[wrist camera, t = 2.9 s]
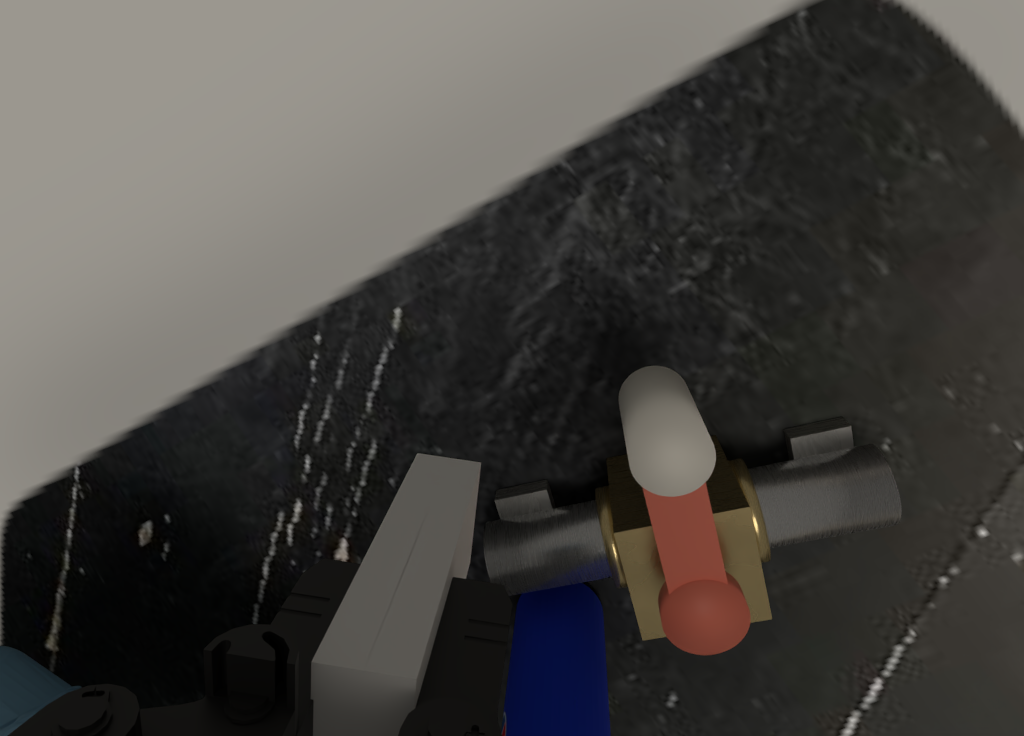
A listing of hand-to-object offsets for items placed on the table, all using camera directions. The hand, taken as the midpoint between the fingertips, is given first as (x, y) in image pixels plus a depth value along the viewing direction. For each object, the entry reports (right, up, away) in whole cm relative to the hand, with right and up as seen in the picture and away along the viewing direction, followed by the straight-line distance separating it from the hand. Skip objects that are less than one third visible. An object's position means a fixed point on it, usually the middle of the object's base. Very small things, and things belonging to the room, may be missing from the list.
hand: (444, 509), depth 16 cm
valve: (+10, -4, +22) cm, 24 cm away
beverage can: (+4, -11, +25) cm, 28 cm away
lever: (+8, -2, +12) cm, 15 cm away
